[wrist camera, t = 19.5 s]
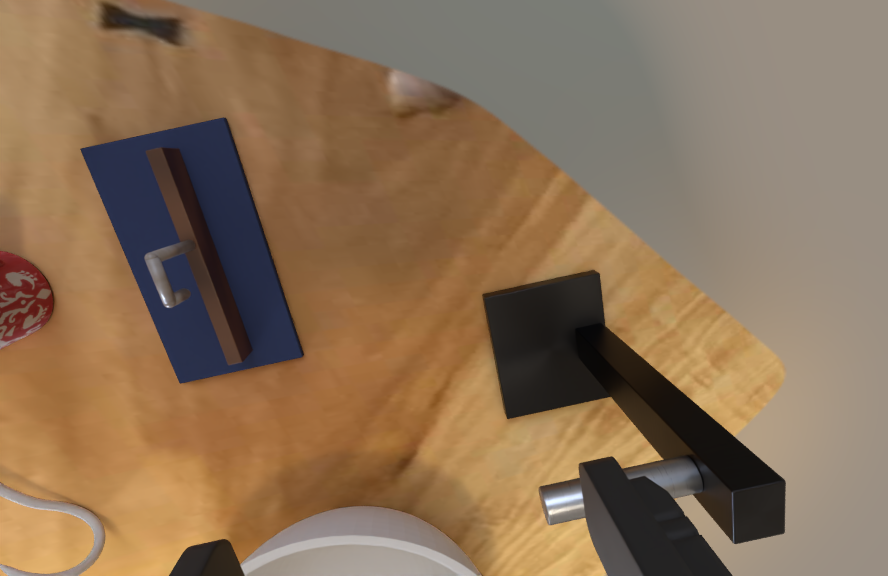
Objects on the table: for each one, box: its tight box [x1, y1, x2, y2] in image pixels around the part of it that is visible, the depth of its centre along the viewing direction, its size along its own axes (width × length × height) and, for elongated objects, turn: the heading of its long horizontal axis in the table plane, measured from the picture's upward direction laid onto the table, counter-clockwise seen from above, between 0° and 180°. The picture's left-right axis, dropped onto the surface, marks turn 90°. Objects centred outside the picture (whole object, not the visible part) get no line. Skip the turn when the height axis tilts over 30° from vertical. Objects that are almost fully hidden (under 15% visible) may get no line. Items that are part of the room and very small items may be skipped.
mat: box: [80, 118, 304, 383], centre depth 35 cm, size 20×11×1 cm, turn 12°
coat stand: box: [482, 270, 786, 544], centre depth 29 cm, size 12×10×21 cm
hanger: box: [145, 147, 253, 365], centre depth 32 cm, size 17×1×8 cm, turn 12°
